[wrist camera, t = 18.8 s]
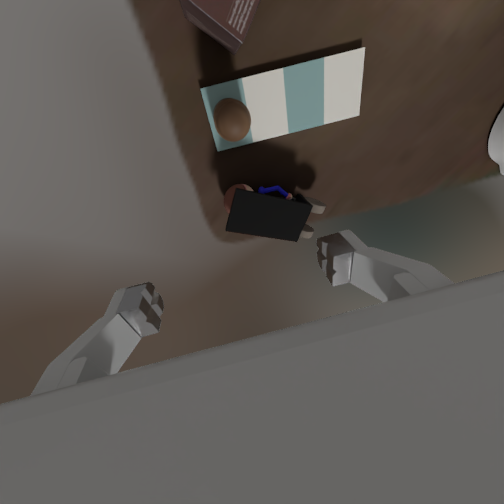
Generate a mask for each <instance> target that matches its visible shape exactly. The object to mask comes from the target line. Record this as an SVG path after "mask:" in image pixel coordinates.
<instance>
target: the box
mask: <svg viewBox="0 0 504 504" xmlns="http://www.w3.org/2000/svg"><path fill="white" fill-rule="evenodd" d="M180 3H181V6H182V9H183V13H184V16H185V18H186V19H188V20H189V21H190V22H191V23H193V24H194V25H195V26H197V27H198V28H199V29H201V30H202V31H203V32H205V33H206V34H207V35H209V36H210V37H211V38H212V39H214V40H215V41H216V42H218V43H219V44H220V45H222V46H223V47H224V48H226V49H227V50H228V51H230V52H231V53H232V54H233V55H235V54H236V52H237V51H238V49H239V47H240V46H241V44H242V43H243V41H244V39H245V37H246V35H247V32H248V30H249V28H250V25H251V23H252V20H253V18H254V15H255V13H256V10H257V8H258V5H259V3H260V0H180Z"/></svg>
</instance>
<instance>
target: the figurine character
mask: <svg viewBox="0 0 504 504" xmlns="http://www.w3.org/2000/svg"><path fill="white" fill-rule="evenodd" d="M272 191H278V192H280V193H281V194H282V195H283V196H285V198H281V197H276V196H272V195H267V194H265V193H268V192H272ZM224 207H225V209H226V211H227V212H228V213H229V217H228V221H227V225H226V231H228V232H235V233H241V234H248V235H255V236H261V237H268V238H275V239H281V240H288V241H295V242H297V241H298V238H299V237H302V238H311V236H312V234H313V232H314V229H313V228H312V227H310V226H309V225H306V224H305V223H306V221H307V219H308V216H309V214H310V212H314V213H318V214H322V213H323V211H324V209H325V207H326V205H325V204H324V203H322V202H321V201H318V200H316V199H313V198H309V197H303V196H302V195H301V194H297V196H296V198H294V197H292V194H290V193H287V192H286V191H284V190H283V189H282V188H281V187H280V186H273V187H269V188H264V187H260V188H259V189H258V192H254V191H253V189H252V188H251V187H249V186H248V185H245V184H235V185H233V186H231V187H230V188H229V189H228V190H227V191H226V193H225V196H224Z"/></svg>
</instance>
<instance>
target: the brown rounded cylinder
mask: <svg viewBox="0 0 504 504" xmlns="http://www.w3.org/2000/svg"><path fill="white" fill-rule="evenodd" d="M213 119H214V124H215V128H216V130H217V132H218V134H219V135H220V136H221V137H222V138H223V139H225V140H227V141H230V142H236V141H239V140H241V139H243V138H244V137H245V136H246V135H247V133H248V132H249V129H250V126H251V116H250V113H249V110H248V108H247V107H246V106H245V104H243V103H242V102H241V101H239V100H236V99H233V98H224V99H222V100H220V101H219V102H218V103H217V104H216V106H215V108H214V112H213Z"/></svg>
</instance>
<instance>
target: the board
mask: <svg viewBox="0 0 504 504" xmlns="http://www.w3.org/2000/svg"><path fill="white" fill-rule="evenodd" d="M364 54H365V47H363V48H359V49H356V50H352V51H348V52H344V53H340V54H336V55H332V56H328V57H324V58H320V59H316V60H312V61H308V62H304V63H300V64H296V65H292V66H288V67H284V68H280V69H276V70H272V71H268V72H264V73H260V74H256V75H252V76H248V77H244V78H240V79H237V80H233V81H229V82H225V83H221V84H217V85H213V86H209V87H205V88H201V89H200V90H201V93H202V97H203V100H204V104H205V108H206V111H207V115H208V119H209V122H210V126H211V129H212V133H213V137H214V140H215V144H216V148H217V151H222V150H226V149H230V148H234V147H238V146H242V145H246V144H249V143H253V142H257V141H261V140H265V139H269V138H273V137H277V136H281V135H285V134H289V133H293V132H296V131H300V130H304V129H308V128H312V127H316V126H320V125H324V124H328V123H332V122H336V121H339V120H343V119H347V118H351V117H355V116H359V111H360V100H361V88H362V77H363V65H364ZM224 98H233V99H236V100H239V101H241V102H242V103H243V104H245V106H246V107H247V108H248V110H249V113H250V116H251V126H250V129H249V132H248V133H247V135H246V136H245V137H244V138H243V139H241V140H239V141H236V142H230V141H227V140H225V139H223V138H222V137H221V136H220V135H219V134H218V132H217V130H216V128H215V124H214V119H213V112H214V108H215V106H216V104H217V103H218V102H219V101H220V100H222V99H224Z"/></svg>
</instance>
